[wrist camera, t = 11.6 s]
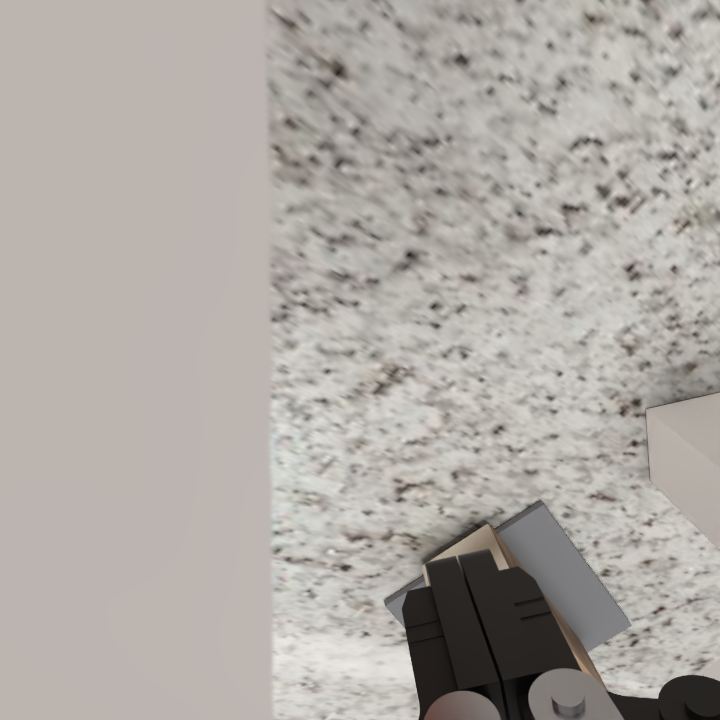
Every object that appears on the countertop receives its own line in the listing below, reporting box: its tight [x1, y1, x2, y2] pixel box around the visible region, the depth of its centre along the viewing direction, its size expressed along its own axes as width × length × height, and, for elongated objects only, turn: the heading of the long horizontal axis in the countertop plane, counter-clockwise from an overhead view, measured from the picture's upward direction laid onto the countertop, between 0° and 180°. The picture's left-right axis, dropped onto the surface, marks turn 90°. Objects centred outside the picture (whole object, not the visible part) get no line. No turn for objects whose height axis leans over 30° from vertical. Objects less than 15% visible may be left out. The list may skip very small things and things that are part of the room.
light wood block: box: [421, 524, 608, 691], centre depth 45 cm, size 6×6×14 cm
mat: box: [384, 500, 632, 652], centre depth 49 cm, size 14×14×1 cm
